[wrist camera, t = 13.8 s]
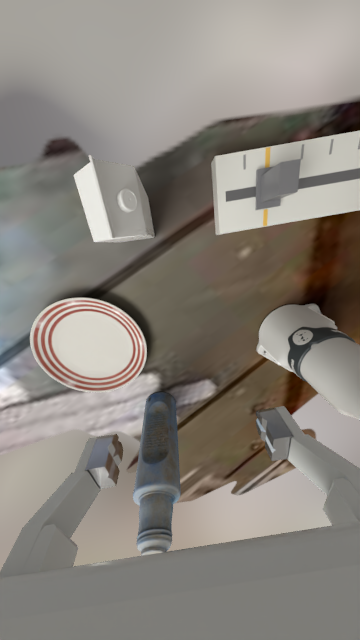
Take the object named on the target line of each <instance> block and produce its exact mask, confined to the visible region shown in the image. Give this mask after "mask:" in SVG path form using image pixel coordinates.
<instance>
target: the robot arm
mask: <svg viewBox="0 0 360 640" xmlns="http://www.w3.org/2000/svg"><path fill="white" fill-rule="evenodd" d="M256 351H257V352H258V353H259V354H261V355H262V356H264V357H266V358H268V359H270V360H271V361H273V362H275V363H277V364H278V365H280V366H282V367H284V368H285V369H287V370H289V371H291V372H294V373H295V374H296V375H297V376H299V377H300V378H301V379H303V380H304V381H306V382H308V383H309V384H310V385H311V386H312V387H313V388H314V389H315V390H316V391H317V392H318V393H319V394H320V395H321V396H322V397H323V398H324V399H325V400H326V401H327V402H328V403H329V404H330V405H331V406H332V407H333V408H334V409H335V410H337V411H338V412H340V413H342V414H344V415H346V416H349V417H354V418H357V419H358V420H360V345H358V344H356V343H355V341H354V340H353V339H352V338H350V337H348V336H347V335H346V334H344V333H343V332H340V331H338V330H337V327H336V326H335V322H334V321H333V320H331V319H329V318H327V317H326V316H324V315H322V314H321V312H320V309H319V307H318V306H317V305H316V304H307V305H294V304H292V305H285V306H282V307H280V308H278V309H276V310H274V311H273V312H271V313H270V314H269V315H268V316H267V317H266V318H265V320H264V321H263V323H262V325H261V327H260V330H259V343H258V345H257V348H256ZM264 351H265V352H264ZM256 416H257V418H258V419H257V420H256V426H257V430H258V433H259V435H260V437H261V439H262V440H263V441H265V448H266V450H267V452H268V454H269V456H270V458H271V461H274V460H282V459H288V460H289V461H290V462H291V463H292V464H293V465H294V466H295V467H296V468H297V469H299V470H300V471H301V472H302V473H303V474H304V475H305V476H306V477H307V478H308V479H310V480H311V481H312V482H313V483H314V484H315V485H316V486H317V487H318V488H320V490H321V491H323V492H324V493H325V494H326V495H327V499H326V502H325V504H324V508H323V510H324V512H325V514H326V515H327V517H328V519H329V521H330V522H331V524H332V526H327V527H321V528H314V529H308V530H302V531H295V532H289V533H283V534H276V535H270V536H264V537H257V538H252V539H245V540H239V541H233V542H226V543H219V544H213V545H207V546H200V547H194V548H188V549H182V550H175V551H169V552H162V553H156V554H150V555H143V556H137V557H131V558H124V559H118V560H112V561H105V562H100V563H93V564H86V565H80V566H74V567H73V564H74V561H75V557H76V554H77V550H78V547H77V545H76V544H75V543H74V542H73V541H72V540H71V539H70V538H71V536H72V535H73V533H74V531H75V530H76V528H77V527H78V525H79V524H80V522H81V520H82V519H83V517H84V516H85V514H86V512H87V511H88V509H89V508H90V506H91V504H92V503H93V501H94V500H95V498H96V496H97V495H98V493H99V492H100V489H103V488H108V487H113V486H116V484H117V479H118V475H119V469H118V465H119V464H120V463H121V461H122V455H123V447H122V444H121V442H119V441H118V436H117V434H114V435H107V436H101V437H94V438H89V440H88V441H87V443H86V445H85V448H84V450H83V453H82V455H81V457H80V460H79V463H78V465H77V467H76V469H75V472H74V473H71V474H70V475H69V476H68V478H67V479H66V480H65V481H64V482H63V483H62V485H61V486H60V487H59V488H58V489H57V490H56V491H55V492H54V493H53V494H52V496H51V497H50V498H49V499H48V500H47V501H46V502H45V503H44V505H43V506H42V507H41V508H40V509H39V510H38V511H37V512H36V514H35V515H34V516H33V517H32V518H31V519H30V520H29V521H28V523H27V524H26V525H25V526H24V527H23V528H22V530H21V533H20V534H19V536H18V538H17V540H16V542H15V544H14V546H13V548H12V550H11V552H10V554H9V556H8V558H7V560H6V562H5V563H4V565H3V567H2V570H1V571H0V640H360V468H358V467H357V466H355V465H353V464H352V463H351V462H349V461H348V460H346V459H344V458H343V457H341V456H340V455H338V454H337V453H335V452H334V451H332V450H331V449H329V448H327V447H326V446H325V445H323V444H321V443H320V442H318V441H317V440H315V439H314V438H312V437H311V436H309V435H305V434H304V433H303V432H302V430H301V429H300V428H299V426H298V425H297V423H296V422H295V420H294V419H293V418H292V416H291V415H290V413H289V412H288V411H287V409H286V408H285V407H283V406H282V407H276V408H269V409H264V410H258V411H257V412H256Z"/></svg>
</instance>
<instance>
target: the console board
mask: <svg viewBox="0 0 360 640" xmlns="http://www.w3.org/2000/svg"><path fill="white" fill-rule="evenodd" d="M296 159H301V163H300V173H299V183H298V192H296V193H294V194H291V195H289V196H286V197H284V198H281V203H280V206H278V207H272V208H266V209H261V210H255V208H256V170H257V169H262V168H268V167H273V166H276V165H277V164H279V163H280V162H285V161H291V160H296ZM211 168H212V183H213V198H214V214H215V229H216V235H219V234H224V233H230V232H236V231H242V230H248V229H253V228H259V227H265V226H271V225H277V224H282V223H288V222H294V221H300V220H306V219H311V218H317V217H323V216H329V215H334V214H340V213H346V212H352V211H358V210H360V131H355V132H349V133H343V134H338V135H332V136H326V137H321V138H315V139H309V140H304V141H298V142H292V143H287V144H281V145H275V146H270V147H264V148H258V149H253V150H247V151H241V152H236V153H230V154H224V155H219V156H215V157H214V159H213V161H212V163H211Z"/></svg>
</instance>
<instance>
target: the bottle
mask: <svg viewBox="0 0 360 640" xmlns="http://www.w3.org/2000/svg"><path fill="white" fill-rule="evenodd" d="M180 494H181V492H180V474H179V454H178V436H177V418H176V401H175V399H174V397H173V396H172V395H170V394H168V393H164V392H158V393H154V394H152V395H151V396H149V397H148V399H147V400H146V405H145V413H144V421H143V428H142V435H141V443H140V450H139V459H138V466H137V473H136V481H135V489H134V493H133V499H134V502H135V503H136V504H138V505H139V506H140V511H139V532H138V537H137V548H138V550H140V551H141V556H143V555H150V554H156V553H162V552H166V551H167V550H168V549H169V548H170V546H171V542H172V532H171V521H172V512H173V504H174V503H176V502H177V501H178V499H179V497H180Z"/></svg>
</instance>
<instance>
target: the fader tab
mask: <svg viewBox="0 0 360 640" xmlns="http://www.w3.org/2000/svg"><path fill="white" fill-rule="evenodd" d="M300 163H301V159H296V160H291V161H285V162H280V163H279V164H277V165H276V166H273V167H268V168H262V169H257V170H256V208H255V210H261V209H266V208H272V207H278V206H280V203H281V198H284V197H286V196H289V195H291V194H294V193H296V192H298V183H299V173H300Z"/></svg>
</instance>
